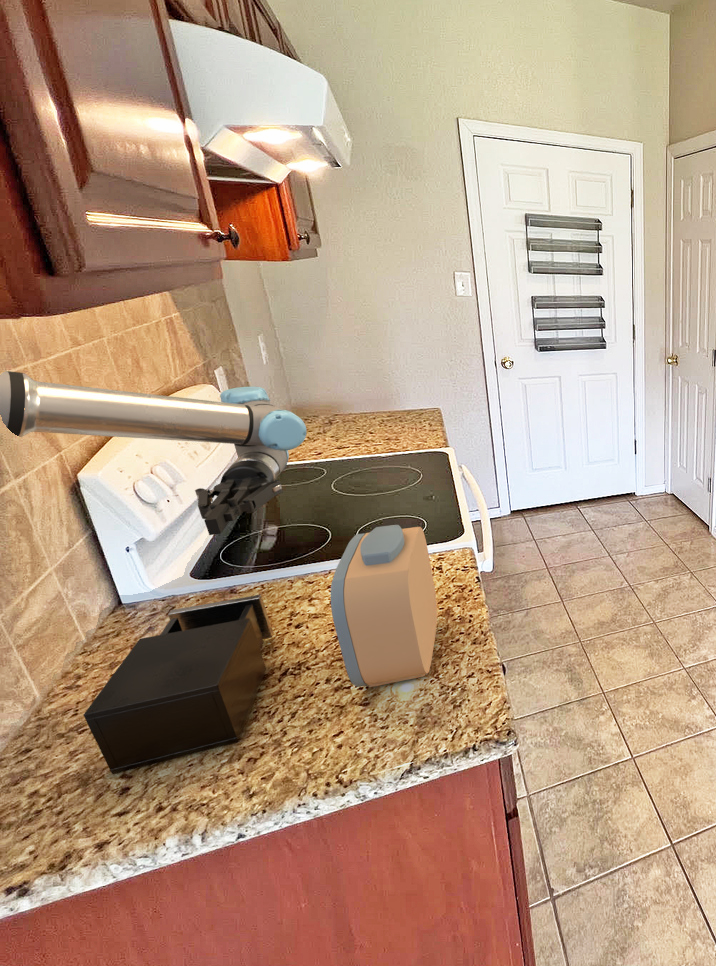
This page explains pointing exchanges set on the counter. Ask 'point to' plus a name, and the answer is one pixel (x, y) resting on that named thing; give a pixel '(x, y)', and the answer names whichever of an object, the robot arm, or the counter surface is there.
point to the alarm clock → (385, 606)
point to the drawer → (223, 616)
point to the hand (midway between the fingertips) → (212, 527)
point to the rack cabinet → (178, 695)
